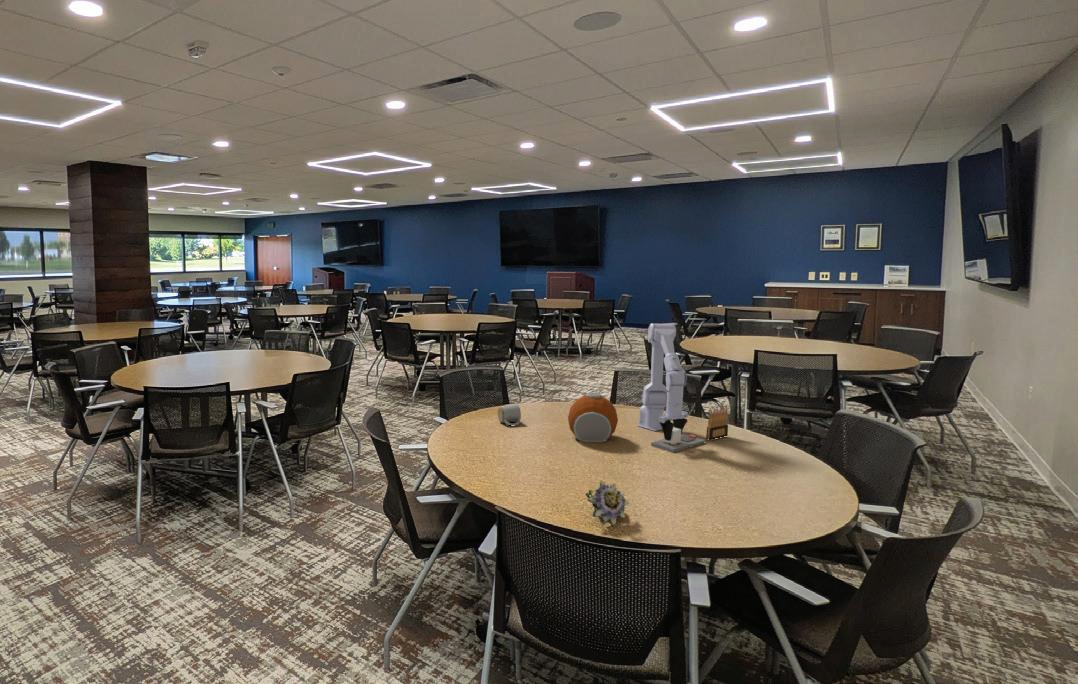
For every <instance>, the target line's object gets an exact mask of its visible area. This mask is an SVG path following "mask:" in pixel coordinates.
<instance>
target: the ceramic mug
mask: <svg viewBox="0 0 1078 684" xmlns="http://www.w3.org/2000/svg"><path fill="white" fill-rule="evenodd" d="M497 418H498V421H499V423H501V422H502V423H501V424H506V425H507V426H508V425H517V426H519V424H520V421H521V418H522V412H521V408H520V406H519V404H518V403H513V404H507V405H502V406H499V407H498V409H497ZM510 422H515V423H510Z"/></svg>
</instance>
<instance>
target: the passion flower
mask: <svg viewBox="0 0 1078 684" xmlns="http://www.w3.org/2000/svg"><path fill="white" fill-rule="evenodd" d="M598 486H599V487H598V489H595V490H593V489H589V490H588V492H586V493H585V496H586V497H587V498H588V499H587V501H588V502H589V503H591V504H592V507H593V511H592V516H593V518H594V517H595V518H596V517H601V521H602V522H603V524H606V523H607V522H608V523H609V524H610V526H615V525H616V523H617V517H620V518H622V519H625V517H626V513H625V511H626V510H625V509H626V507H625V506H628V505H630V500H627V499H626V498H625V492H622V491H620V490H618V488H617V484H616V483H612V484H611V485H609V484H605V482H604V480H599V485H598ZM594 492H595V493H594ZM593 493H594V494H593Z"/></svg>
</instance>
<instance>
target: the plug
mask: <svg viewBox="0 0 1078 684" xmlns="http://www.w3.org/2000/svg"><path fill="white" fill-rule="evenodd" d="M681 434H682V433H681V429H678V428H675V427H673V430H672V435H671V440H670V441H668V440H665V437H664V436H663V439H664V441H663V442H666V444H669V443H670V444H669V445H672V446H674V445H675V444H677V443H680V441H681Z"/></svg>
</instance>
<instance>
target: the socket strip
mask: <svg viewBox="0 0 1078 684" xmlns="http://www.w3.org/2000/svg"><path fill="white" fill-rule="evenodd" d="M663 441H664V438H662V439H659V440H655V441H652V442H650V446H651V447H654V448H657V449H661V450H663V451H666V450H667V452H669V451H670V453H672V452H674V453H677V452H679V450H680V451H683V450H682V449H684V450H686V449H685V448H687V449H689V448H688V447H690V448H692V447H691V446H694V445H697V446H699V445H698V444H700V445H702V444H701V443H704V442H706V441H707V440H706V438H705V439H704V438H700V437H699V436H698V437H697V435H695V434H686V433H681V441H680V443H677V444H676V445H675V446H672V445H671V444H666V442H663ZM706 443H707V442H706ZM704 444H705V443H704ZM694 447H695V446H694ZM676 451H677V452H676Z"/></svg>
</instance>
